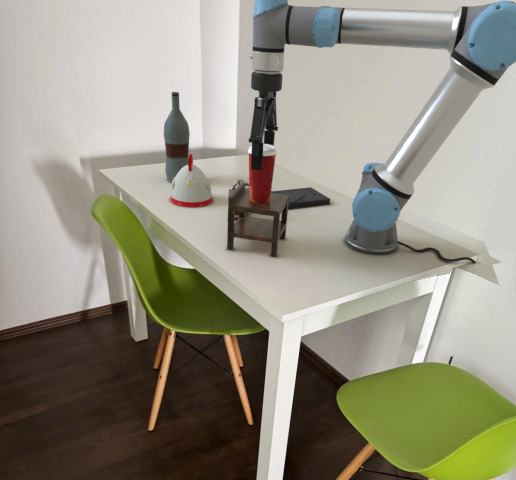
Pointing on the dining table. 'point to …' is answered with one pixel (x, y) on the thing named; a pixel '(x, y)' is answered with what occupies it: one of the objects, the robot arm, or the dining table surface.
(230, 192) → the food container
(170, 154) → the bottle
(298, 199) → the picture frame
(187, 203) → the kitchen timer
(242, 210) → the rack
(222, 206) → the dining table surface
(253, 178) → the paper cup
